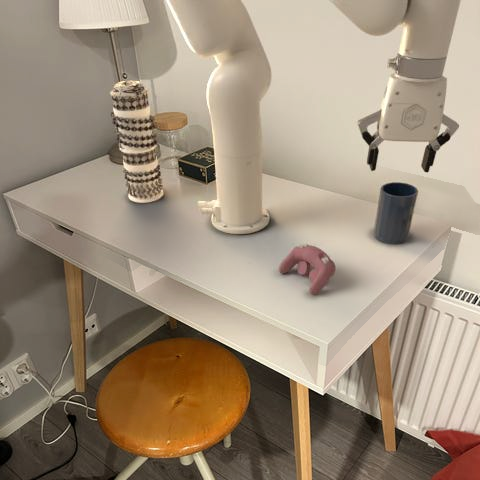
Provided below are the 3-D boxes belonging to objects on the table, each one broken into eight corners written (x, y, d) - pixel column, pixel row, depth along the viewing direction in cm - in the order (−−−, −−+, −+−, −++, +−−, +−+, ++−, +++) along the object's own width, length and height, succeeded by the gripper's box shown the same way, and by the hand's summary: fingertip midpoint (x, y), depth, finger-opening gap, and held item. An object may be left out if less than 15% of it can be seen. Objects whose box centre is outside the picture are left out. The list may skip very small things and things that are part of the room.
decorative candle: (119, 195, 118) (97, 84, 102) (151, 184, 122) (134, 76, 107) (140, 207, 112) (119, 91, 97) (172, 194, 117) (158, 82, 101)
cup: (376, 244, 96) (383, 197, 90) (371, 227, 101) (378, 182, 95) (411, 244, 96) (421, 197, 89) (404, 228, 101) (413, 182, 94)
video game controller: (327, 297, 85) (344, 261, 83) (311, 296, 82) (327, 258, 80) (291, 272, 92) (306, 238, 89) (275, 271, 89) (289, 235, 86)
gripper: (369, 72, 77) (353, 175, 88) (481, 73, 76) (451, 178, 87) (363, 61, 82) (349, 160, 93) (467, 63, 81) (440, 162, 92)
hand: (398, 168), depth 90 cm, fingers open, 9 cm apart
